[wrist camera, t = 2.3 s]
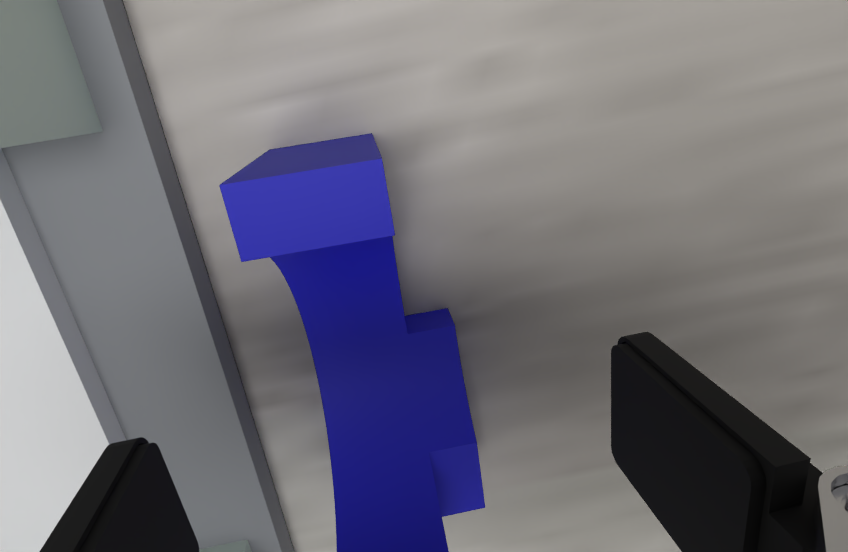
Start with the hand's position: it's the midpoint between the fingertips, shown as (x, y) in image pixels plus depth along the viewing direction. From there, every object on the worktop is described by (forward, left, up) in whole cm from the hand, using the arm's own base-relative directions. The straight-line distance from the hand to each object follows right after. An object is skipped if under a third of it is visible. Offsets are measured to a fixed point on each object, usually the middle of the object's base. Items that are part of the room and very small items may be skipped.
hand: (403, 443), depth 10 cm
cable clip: (0, 0, -7) cm, 7 cm away
